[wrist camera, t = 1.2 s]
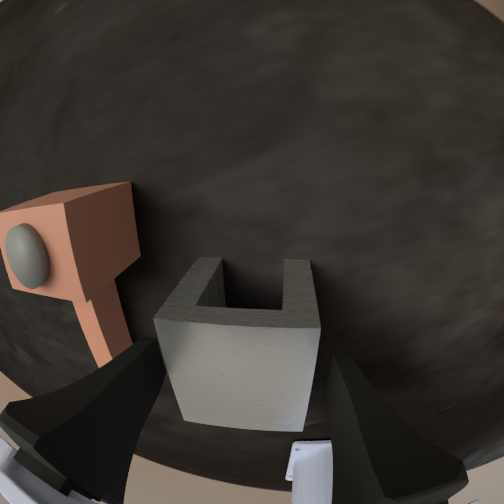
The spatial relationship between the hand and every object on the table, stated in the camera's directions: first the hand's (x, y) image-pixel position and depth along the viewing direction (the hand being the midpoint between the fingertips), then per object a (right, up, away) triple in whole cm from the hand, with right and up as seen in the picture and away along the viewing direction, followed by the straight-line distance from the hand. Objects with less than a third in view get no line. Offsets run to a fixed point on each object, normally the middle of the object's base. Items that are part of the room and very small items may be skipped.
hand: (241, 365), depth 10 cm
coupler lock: (+1, +1, +4) cm, 4 cm away
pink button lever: (-8, +2, +5) cm, 10 cm away
